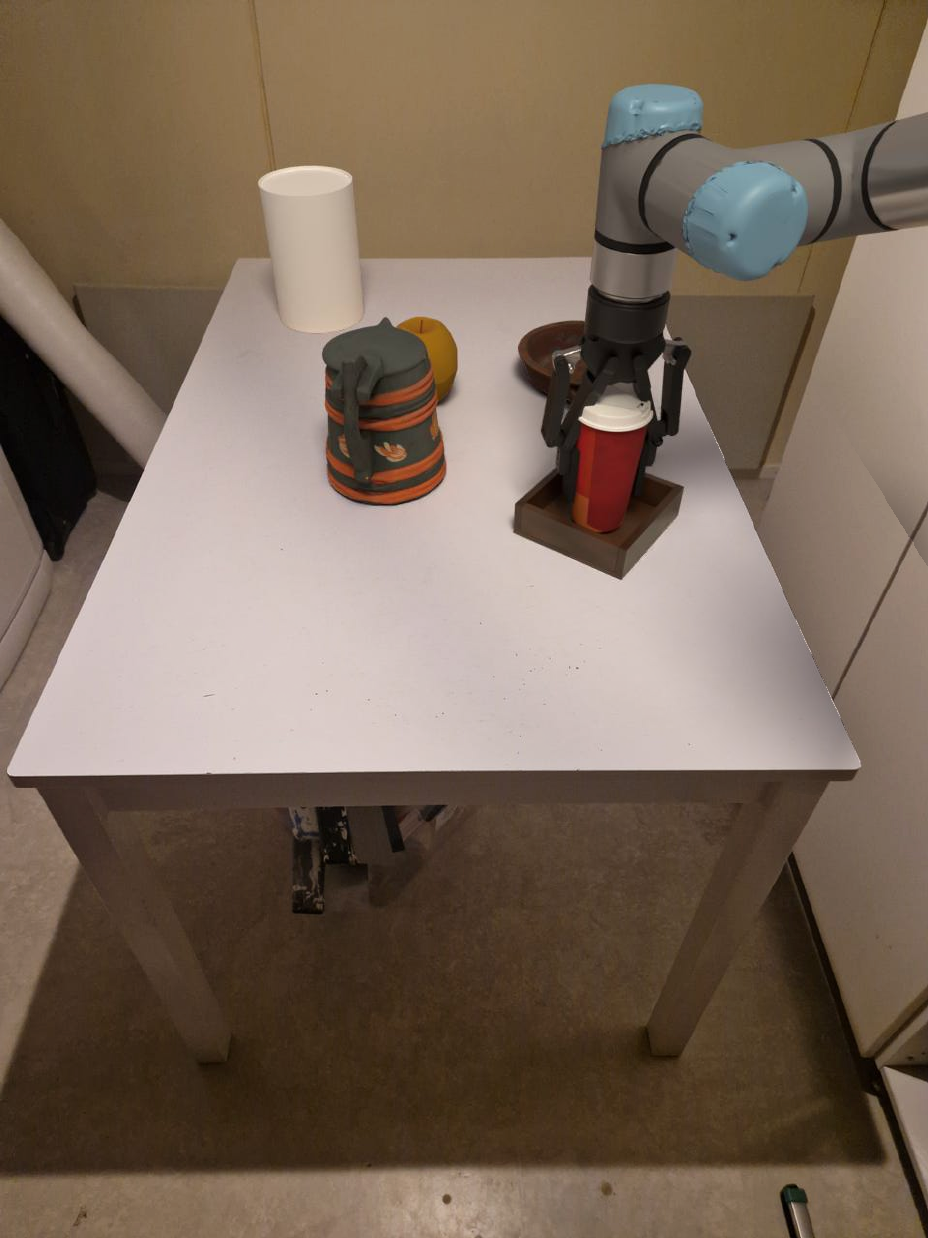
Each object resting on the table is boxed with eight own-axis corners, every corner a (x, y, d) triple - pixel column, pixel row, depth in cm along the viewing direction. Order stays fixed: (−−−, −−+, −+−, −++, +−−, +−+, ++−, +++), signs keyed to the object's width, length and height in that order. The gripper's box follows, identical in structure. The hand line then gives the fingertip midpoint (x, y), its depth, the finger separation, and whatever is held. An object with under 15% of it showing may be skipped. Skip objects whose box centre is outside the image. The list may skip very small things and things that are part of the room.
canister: (296, 293, 139) (277, 163, 125) (374, 299, 137) (363, 168, 123) (267, 328, 130) (243, 192, 116) (350, 336, 128) (335, 198, 114)
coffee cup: (645, 508, 95) (668, 390, 84) (615, 547, 90) (635, 427, 79) (580, 486, 98) (594, 369, 87) (547, 522, 93) (557, 403, 82)
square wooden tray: (678, 515, 96) (684, 486, 93) (621, 580, 88) (626, 550, 85) (575, 475, 102) (578, 446, 99) (513, 532, 94) (514, 503, 91)
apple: (391, 422, 110) (384, 339, 102) (385, 386, 117) (378, 305, 109) (463, 416, 111) (462, 333, 103) (453, 380, 118) (452, 300, 110)
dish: (520, 421, 110) (522, 387, 107) (513, 344, 126) (514, 312, 122) (650, 421, 110) (657, 387, 107) (627, 344, 126) (632, 312, 122)
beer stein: (434, 535, 93) (429, 372, 79) (307, 527, 94) (279, 365, 80) (452, 442, 107) (449, 289, 93) (340, 437, 108) (321, 284, 94)
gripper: (717, 263, 79) (675, 464, 95) (515, 277, 77) (506, 481, 93) (749, 296, 74) (698, 503, 90) (532, 311, 72) (520, 521, 88)
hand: (601, 492), depth 92 cm, fingers closed on coffee cup, 7 cm apart
